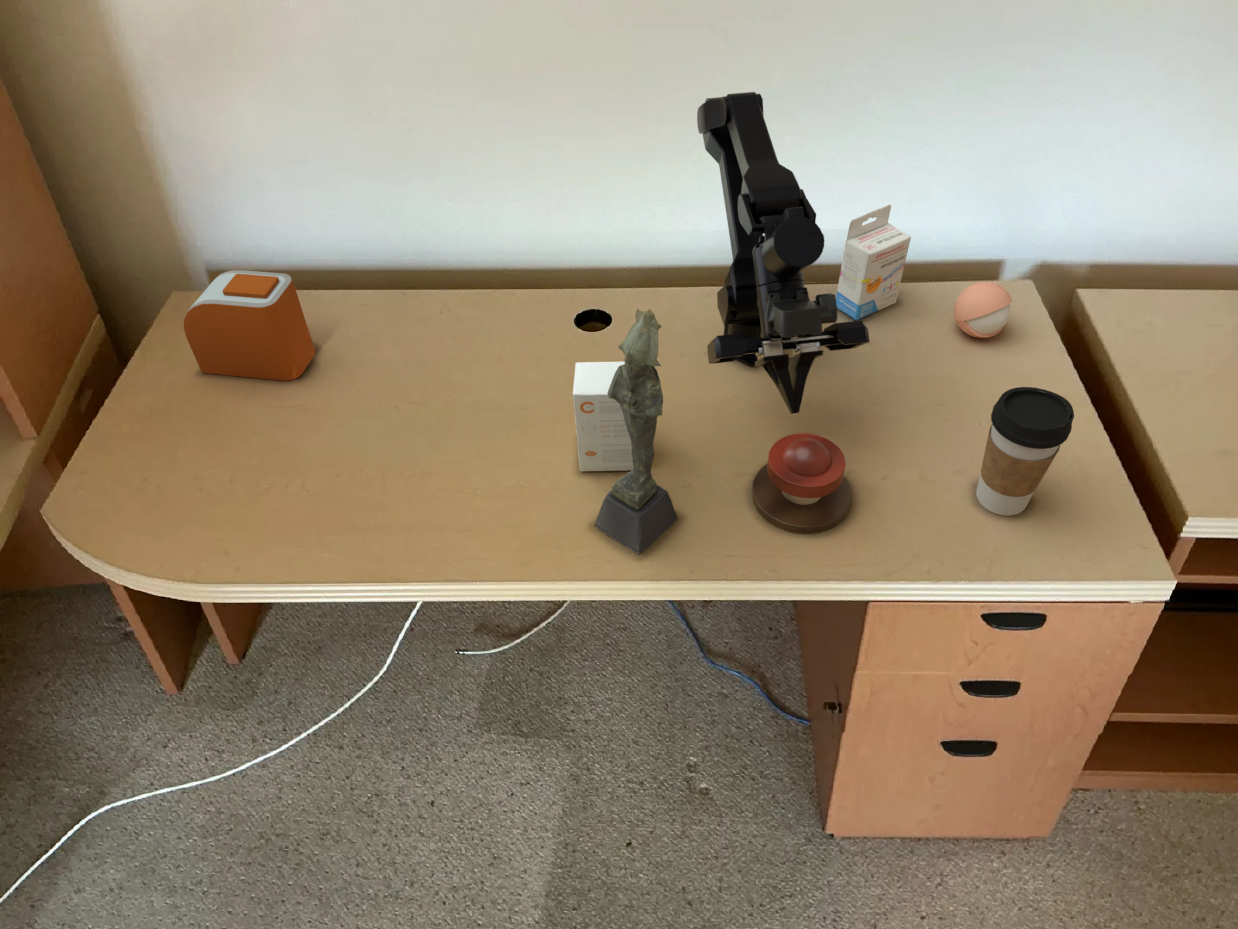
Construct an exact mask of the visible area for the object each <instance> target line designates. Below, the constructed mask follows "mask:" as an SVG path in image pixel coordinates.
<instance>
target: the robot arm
mask: <svg viewBox="0 0 1238 929" xmlns="http://www.w3.org/2000/svg"><path fill="white" fill-rule="evenodd" d="M696 114H697V115H696V123H697V129H698V133H699V134H700V135H701V134H702V139H703V145H704V150H705V151H706V152H707V153H708V154H709V155H710V156H711V158H713V160H714V161H715V162H716V163H717V164H718V166H719V167H718V168H719V173H720V174H719V175H720V179H721V186H722V188H721V189H722V195H723V202H724V207H725V215H726V220H727V221H726V222H727V228H728V234H729V235H728V236H729V241H730V249H731V254H732V262H731V265H730V267H729V270H728V272H727V274H726V277H725V279H724V285H723V286H722V287H721V288H720V289H719V291H717V293H716V296H717V297H716V298H717V299H716V300H717V310H718V312H719V315H720V319H721V321H722V324H723V334H721V335H716V336H715V337H714V338H713V339H711V341H709V343H708V344H707V348H706V349H707V350H706V351H707V360H708V364H709V365H715V364H725V363H732V362H735V360H736V361H738V362H739V363H742V364H744V365H745V366H748V367H763V369H764V371H765V372H766V373H767V375H768V376H769V378H770V379H771V381H772V382H773V383H774V385H775V387H776V389H777V390H778V392H779V394H780V396H781V398H782V400H783V401H784V402H783V403H785V406H786V408H787V410H788V411H789V413H790V414H791V415H794V414H799V413H800V410H801V406H802V401H803V397H804V392H805V387H806V384H807V383H806V382H807V378H808V375H809V372H810V370H811V367H812V365H813V364H814V361H815V359H817V358H820V357H822V356H824V350H820V348H821V347H824V348H826V350H828V351H829V352H835V351H843V350H844V351H845V350H852V349H857V348H860V347H861V346H864V345H867V344H869V343H870V342H871V341H870V333H869V327H868V326H867V324H866V323H865V322H864V321H863V320H857V321H856V320H854V321H844V322H837V321H838V308H837V305H836V294H834V293H832V292H829V293H820V294H819V293H818V294H816V295H815V299H814V300H811V299H810V297H809V296H810V295H809V291H808V287H806V286H805V280H804V272H805V271H806V270H807V269H808V268H809V267H811V266H812V265H813V264H814V263H816V262H817V261H818V259H820V257H821V255H822V253H823V252H824V248H825V235H824V233H823V232H822V230H821V228H820V227H819V225H818V224H817V223H816V220H817V213H816V211H815V209H814V208H813V206H812V205H811V203H810V201H809V199H808V198H807V196H806V193H805V191H804V189H803V188H801V187H800V183H799V182H798V179H797V178H796V176H795V173H794V172H793V171H792V170H790V169H789V168H787V167H785V166H784V165H782V164H781V163H780V162H779V160H778V157H777V154H776V150H775V148H774V144H773V142H772V139H771V136H770V131H769V129H768V127H767V123H766V120H765V117H764V116H765V114H764V98H763V97H762V94H761V93H756V92H755V91H747V92H735V93H727V94H726V95H725V96H719V97H707V98H706V99H705V101H704V102H703V103H702V104H700V106H699V107H698V108H697V112H696ZM825 324H830V325H828V326H826V327H825V328H823V325H825ZM784 351H792V356H790V354H789V353H785V354H784Z"/></svg>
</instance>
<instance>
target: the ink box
mask: <svg viewBox="0 0 1238 929" xmlns="http://www.w3.org/2000/svg"><path fill="white" fill-rule="evenodd" d="M891 210H892V205H891V204H887V205H885V206H883V207H880V208H877V209H875V210H872V211H870V212H867V213H865V214H862V215H860V216H858V217H855V218H853V219H851V220H850V221H849V222H850V223H849V226H848V231H847V236H846V239H845V242H844V250H843V255H842V261H841V267H840V272H839V277H838V283H837V290H836V294H835V298H836V305H837V310H840V312H843V313H844V314H846V315H847V316H848V317H850V318H851V319H853V320H854V321H860V320H861V319H863V318H865V317H867V316H870V315H871V314H874V313H877V312H879V311H881V310H883V309H886V308H888V307H890V306H893V305H894V304H896V303H897V300H898V295H899V291H900V287H901V282H902V277H903V274H904V269H905V264H906V261H907V256H908V251H909V248H910V243H911V239H912V236H911V235H909V234H908V233H906V232H904V231H902V230H901V229H899V228H897V227H896V226H894V225H893V224H892V223H890V222H889V219H890V215H891V214H890V213H891ZM870 218H871V219H874V218H875V220H873V221H870V222H867V221H868V220H869V219H870ZM866 222H867V223H866ZM863 223H865V224H863Z"/></svg>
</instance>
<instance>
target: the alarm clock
mask: <svg viewBox="0 0 1238 929" xmlns="http://www.w3.org/2000/svg"><path fill="white" fill-rule="evenodd" d="M183 331H184V334H185V337H186V340H187V342H188V344H189V347H190V349H191V351H192V353H193V356H194V359H195V361H196V363H197V365H198V367H199V369H200V372H201V373H202V374H210V375H211V374H212V375H220V376H232V377H240V378H241V377H242V378H250V379H251V378H252V379H261V380H273V381H282V382H289V381H293V380H295V379H297V378H299V377H301V376H302V374H303V373H305V370H306V368H307V367H308V366H309V364H310V362H311V361H312V359H313V358H314V356H315V354H316V349H315V348H316V347H315V345H314V343H313V340H312V335H311V333H310V329H309V328H308V324H307V321H306V318H305V315H304V311H303V308H302V305H301V302H300V299H299V296H298V293H297V289H296V286H295V283H294V280H293V278H292V276H290V275H289V274H287V273H281V272H269V271H259V270H258V271H257V270H245V269H233V270H228V271H225V272H221V273H220V274H219V275H217V276H216V277H215V278H214V279H213V280H212V281H211V282H210V284H209V285H208V286H207V287H206V288H205V290H204V291H203V292H202V293H201V294H200V296H199V297H198V298H197V299H196V300H195V302H194V303H193V304H192V305H191V306H190V307H189V309H188V310H187V311H186V313H185V316H184V318H183Z"/></svg>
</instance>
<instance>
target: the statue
mask: <svg viewBox="0 0 1238 929" xmlns="http://www.w3.org/2000/svg"><path fill="white" fill-rule="evenodd" d="M634 317H635V322H634V323H633V325H632V326H631V327H630V329H629V331H628V333H627V334H626V336H625V338H624V339H623V341H622V342H621V343H620V344H619V345H618V346H617V348H618V349H620V351H621V352H622V353H623V354H624V361H625V364H624V365H621V366H619V367H618V368H617V370H616V372H615V374H614V377H613V379H612V382H611V384H610V387H609V390H608V393H607V394H608V396H609V398H612V399H614V400H616V401H617V402H618V403H619V404H620V407H621V409H622V412H623V416H624V420H625V424H626V427H627V430H628V433H629V436H630V439H631V445H632V459H633V469H632V470H629V472H627V473H625V475H623V476H621V477H620V478H619V479H618V480H616V482H615V483H614V484H613V485H612V487H611V490H610V491H609V492H608V493H607V494H606V495H605V497H604V499H603V501H602V503H601V506H600V509H599V512H598V515H597V518H596V520H595V523H594V527H595V528H596V529H597V530H599V531H600V532H602V534H605V535H606V536H608V537H609V538H611V539H612V540H614V541H616V542H618V543H619V544H620V545H622V546H623V547H625V548H627V549H628V550H631V551H632V552H634V553H635V554H637V555H641V554H642V553H644V552H645V551H646V550H647V549H649V548H650V547H651V546H652V544H654V543H655V542H656V541H657V540H658V539H660V537H661V536H663V535H664V533H665V532H667V531H668V530H669V529H670V528H671V527H672V526H673V525H674V524H675V523H676V521H677V520H678V518H679V517H678V515H677V511H676V509H675V507H674V504H673V501H672V499H671V497H670V494H669V491H668V490H666V489H664V487H662V486H660V485H658V484H657V481H656V479H654V478H653V476H652V466H653V462H654V458H655V449H654V439H655V435H656V431H657V423H658V417H660V416H663V405H664V393H663V390H662V385H661V378H660V376H659V373H658V370H657V368H656V367H662V364H661V363H660V362H659V361H658V355H659V330H660V328H662V325H661V324H660V323H659V322H658V319H656V314H655V313H654V312H653V311H652V309H650V308H648V309H647V310H646V311H643V310H641V309H638V308H637V309H636V311H635V316H634Z"/></svg>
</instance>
